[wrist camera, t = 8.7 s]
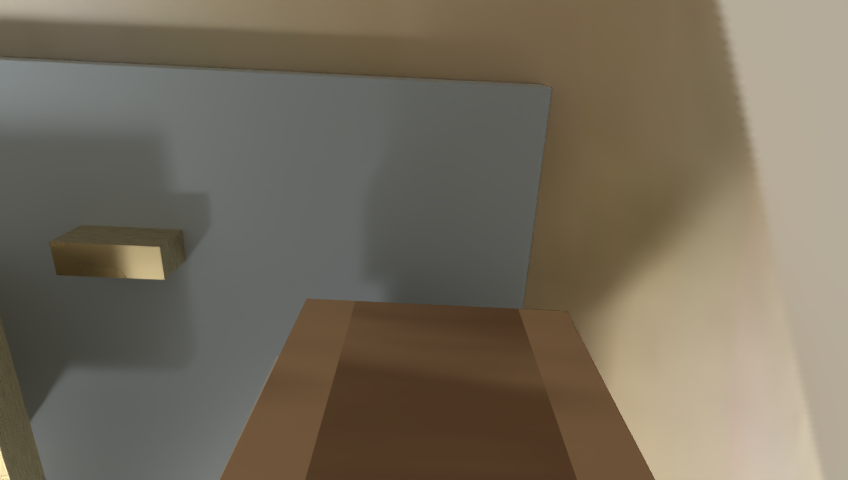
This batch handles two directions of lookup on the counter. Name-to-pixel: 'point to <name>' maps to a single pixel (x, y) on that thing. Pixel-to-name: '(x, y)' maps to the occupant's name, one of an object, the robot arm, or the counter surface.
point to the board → (237, 235)
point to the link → (434, 399)
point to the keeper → (93, 257)
